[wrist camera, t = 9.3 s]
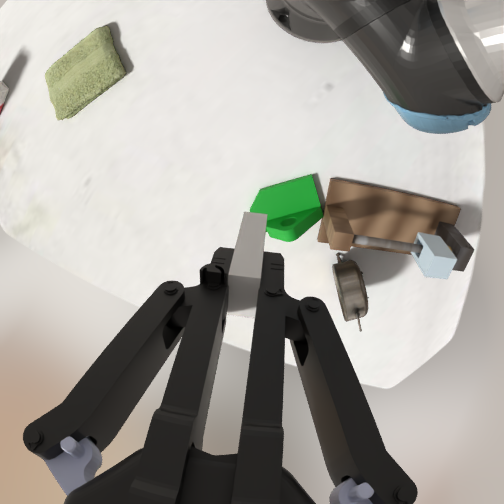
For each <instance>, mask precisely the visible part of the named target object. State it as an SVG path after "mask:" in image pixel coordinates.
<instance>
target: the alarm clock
mask: <svg viewBox="0 0 504 504" xmlns="http://www.w3.org/2000/svg"><path fill="white" fill-rule="evenodd" d="M336 255H337V260H338V263H337V264H333V266H332V268H333V274H334V279H335V284H336V288H337V292H338V297H339V301H340V305H341V309H342V312H343V316H344V319H345V321H350V320H353V319H358V324H359V329H360V331H362V330H361V325H360V319H359V318H361V317H364V316H365V315H366V314H367V311H368V299H367V292H366V288H365V284H364V280H363V277H362V274H363V272H362V271H360V269H359V267H358V265H357V263H356V262H354V261H352V260H349V261H345V262H342V261H341V258H340V257H339V255H340V254H339V253H337V254H336Z"/></svg>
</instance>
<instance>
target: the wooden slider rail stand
mask: <svg viewBox="0 0 504 504" xmlns="http://www.w3.org/2000/svg"><path fill="white" fill-rule="evenodd" d="M460 210H461V209H460V208H459V207H458V206H455V205H451V204H447V203H444V202H440V201H436V200H432V199H428V198H424V197H420V196H416V195H412V194H407V193H403V192H398V191H394V190H389V189H385V188H380V187H375V186H370V185H365V184H359V183H354V182H348V181H343V180H337V179H331V178H330V183H329V188H328V193H327V197H326V202H325V207H324V211H323V216H324V217H323V218H322V221H321V225H320V229H319V234H318V238H317V239H318V242H322V243H329V245H330V249H333V250H341V251H350V247H351V246H353V247H360V248H367V249H375V250H382V251H389V252H396V253H403V254H410V255H412V254H411V252H416V253H421V251H422V249H423V247H424V246H423V245H420V244H414V241H415V239H416V236H417V234H418V232H420V233H426V234H431V235H436V236H440V237H441V238H442V240H443V241H444V242H445V243H446V245H447V246H448V247H449V249H450V250H451V251H452V253H453V254H454V255H455V257H456V258H457V261H456V263H455V265H454V267H453V269H452V270H457V271H464V270H465V268H466V266H467V264H468V262H469V260H470V258H471V256H472V254H473V251H474V249H473V248H472V246H471V245H470V244H469V243H468V242H467V240H466V239H465V238H464V237H463V236H462V235H461V233H460V232H459V231H458V230H457V229H456V228H455V227H454V226H455V223H456V221H457V218H458V215H459V213H460Z"/></svg>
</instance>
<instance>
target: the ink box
mask: <svg viewBox="0 0 504 504" xmlns="http://www.w3.org/2000/svg"><path fill="white" fill-rule="evenodd" d="M8 91H9V88H8V87H7V86H6V85H5V84H4V83H3V81H0V113H1V110H2V107H3V104H4V101H5V99H6V96H7V93H8Z"/></svg>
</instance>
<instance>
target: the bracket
mask: <svg viewBox="0 0 504 504" xmlns="http://www.w3.org/2000/svg"><path fill="white" fill-rule="evenodd" d="M250 212H252V213H261V214H267V223H266V232H268V233H269V236H270V237H272V238H276V239H279V240H283V241H286V242H291V241H294V240H296V239H298V238H299V237H300V236H301V235H302V234H304V233H305V232H306V231H307V230H308V229H309V228H311V227H312V226H313V225H314V224H315V223H317V222H318V221H319V220H320V219H321V218H323V217H324V216H323V212H322V209H321V205H320V202H319V198H318V195H317V191H316V188H315V184H314V181H313V178H312V174H310V175H307V176H303V177H300V178H296V179H293V180H289V181H286V182H282V183H279V184H275V185H272V186H269V187H265V188H262V189H260V191H259V192H258V194H257V196H256V198H255V200H254V202H253V204H252V206H251V208H250Z"/></svg>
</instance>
